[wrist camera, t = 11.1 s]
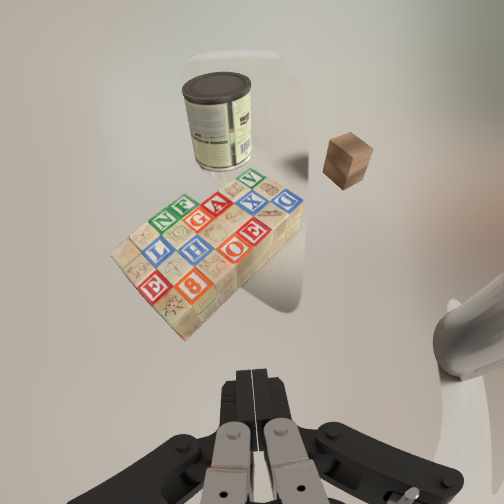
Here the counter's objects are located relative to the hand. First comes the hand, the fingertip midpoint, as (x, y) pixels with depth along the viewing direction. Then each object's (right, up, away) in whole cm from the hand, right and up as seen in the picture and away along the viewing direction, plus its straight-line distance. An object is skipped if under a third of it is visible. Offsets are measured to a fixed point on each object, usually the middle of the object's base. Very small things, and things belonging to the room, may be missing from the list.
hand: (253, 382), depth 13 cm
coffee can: (-5, +24, +35) cm, 43 cm away
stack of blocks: (-1, +4, +19) cm, 20 cm away
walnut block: (+15, +19, +32) cm, 41 cm away
